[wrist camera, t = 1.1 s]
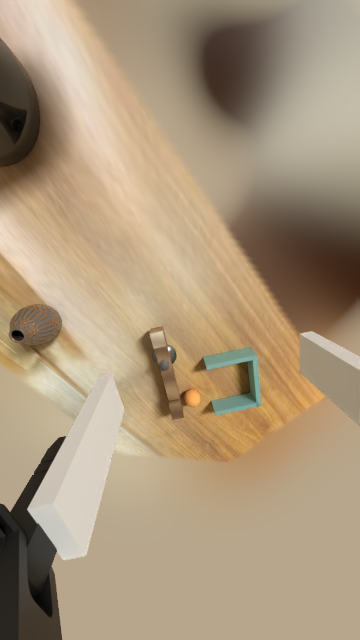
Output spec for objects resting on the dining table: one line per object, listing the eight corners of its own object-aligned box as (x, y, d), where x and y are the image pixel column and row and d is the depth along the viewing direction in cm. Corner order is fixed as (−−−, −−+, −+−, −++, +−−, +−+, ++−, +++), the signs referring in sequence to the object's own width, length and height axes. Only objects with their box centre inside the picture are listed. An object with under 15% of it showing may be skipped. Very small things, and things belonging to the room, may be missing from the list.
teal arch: (203, 357, 44) (206, 365, 40) (250, 347, 44) (257, 354, 40) (211, 404, 48) (215, 415, 45) (254, 395, 48) (261, 405, 45)
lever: (150, 327, 40) (149, 335, 36) (162, 325, 40) (162, 332, 36) (172, 406, 46) (172, 420, 43) (182, 404, 46) (183, 417, 43)
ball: (182, 388, 46) (183, 398, 43) (197, 384, 46) (200, 395, 43) (185, 400, 47) (186, 412, 44) (200, 397, 47) (202, 408, 44)
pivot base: (150, 347, 42) (150, 348, 42) (173, 342, 42) (173, 342, 42) (156, 367, 44) (156, 368, 43) (178, 362, 44) (178, 363, 43)
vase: (62, 339, 40) (36, 361, 32) (26, 327, 39) (-11, 347, 31) (71, 308, 39) (45, 324, 30) (33, 295, 37) (-5, 307, 29)
